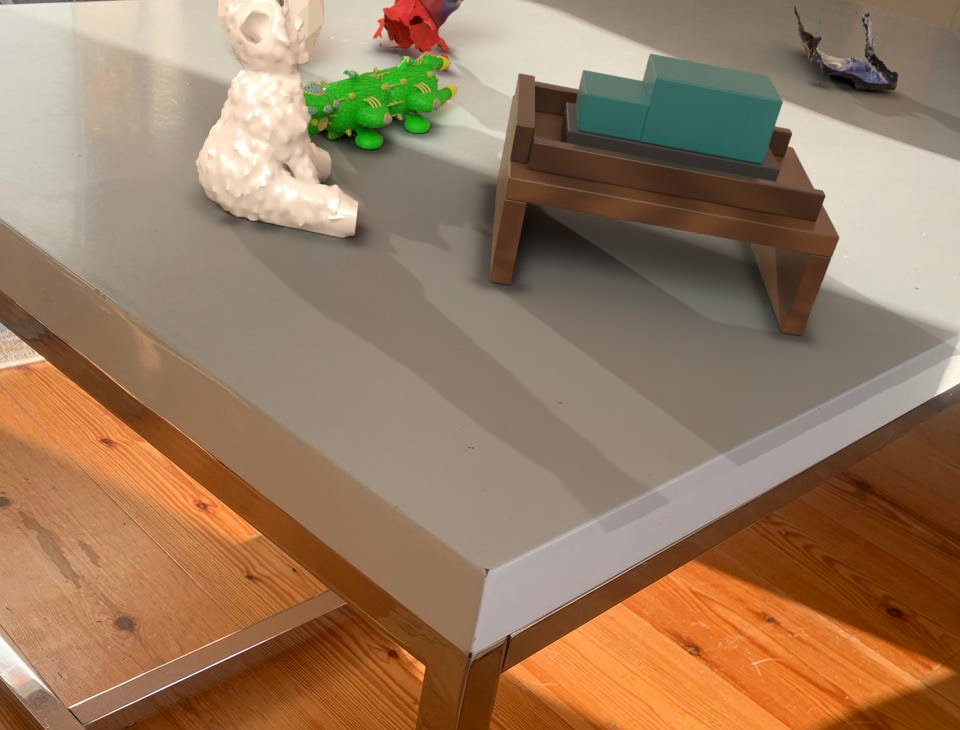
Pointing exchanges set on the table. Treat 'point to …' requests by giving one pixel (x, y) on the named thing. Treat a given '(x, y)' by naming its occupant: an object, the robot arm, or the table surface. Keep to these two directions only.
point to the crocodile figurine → (378, 100)
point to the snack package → (851, 61)
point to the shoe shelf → (663, 199)
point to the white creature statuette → (271, 131)
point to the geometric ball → (303, 3)
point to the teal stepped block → (680, 116)
